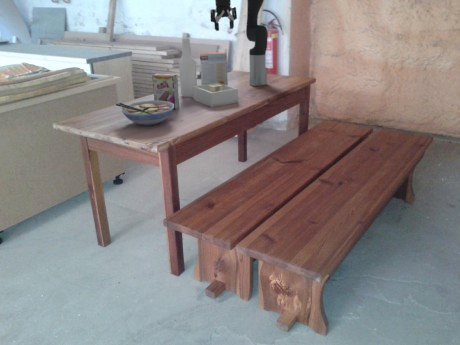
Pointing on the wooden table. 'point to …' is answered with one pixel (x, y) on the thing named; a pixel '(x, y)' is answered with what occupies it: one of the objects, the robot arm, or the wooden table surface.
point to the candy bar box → (166, 88)
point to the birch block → (214, 88)
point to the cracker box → (213, 68)
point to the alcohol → (187, 70)
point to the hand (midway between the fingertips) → (224, 29)
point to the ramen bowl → (147, 111)
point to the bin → (215, 95)
